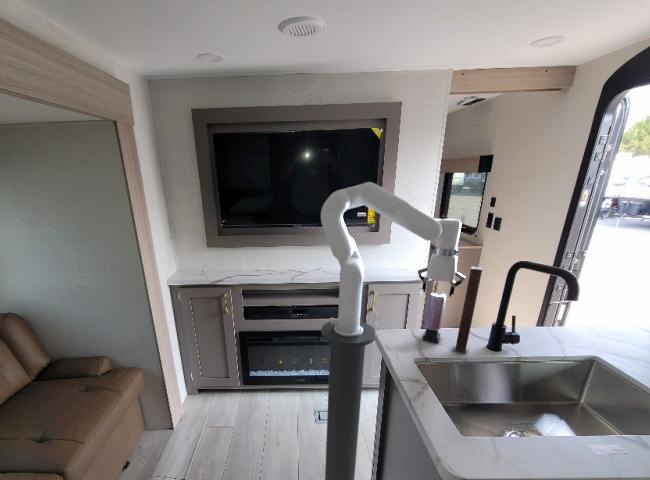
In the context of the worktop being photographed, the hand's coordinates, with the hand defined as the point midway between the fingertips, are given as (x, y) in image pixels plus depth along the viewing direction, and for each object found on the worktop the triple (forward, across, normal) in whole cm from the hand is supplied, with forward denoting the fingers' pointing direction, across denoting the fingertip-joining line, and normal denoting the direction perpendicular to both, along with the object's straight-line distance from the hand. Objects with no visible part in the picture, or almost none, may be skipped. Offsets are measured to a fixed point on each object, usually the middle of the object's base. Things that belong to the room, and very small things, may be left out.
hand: (437, 293), depth 131 cm
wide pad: (+21, -1, 0) cm, 21 cm away
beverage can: (+16, -1, 0) cm, 16 cm away
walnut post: (+20, -12, +4) cm, 24 cm away
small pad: (+18, -1, 0) cm, 18 cm away
